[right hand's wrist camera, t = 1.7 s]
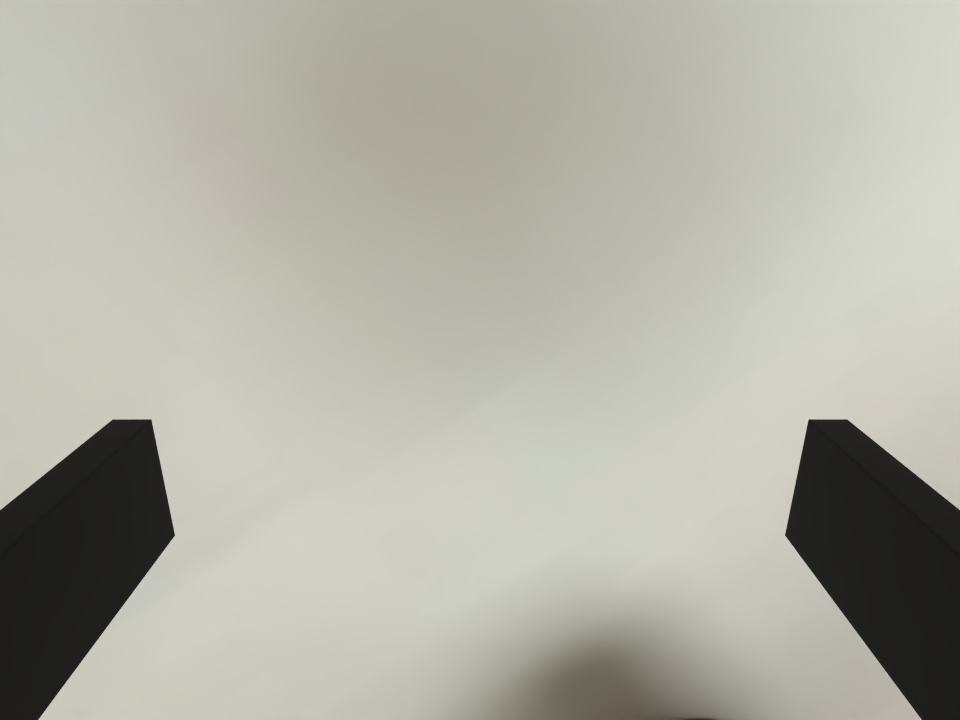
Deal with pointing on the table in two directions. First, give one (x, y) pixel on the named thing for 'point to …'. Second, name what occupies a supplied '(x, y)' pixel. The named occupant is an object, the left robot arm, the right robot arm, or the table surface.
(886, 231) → the table surface
